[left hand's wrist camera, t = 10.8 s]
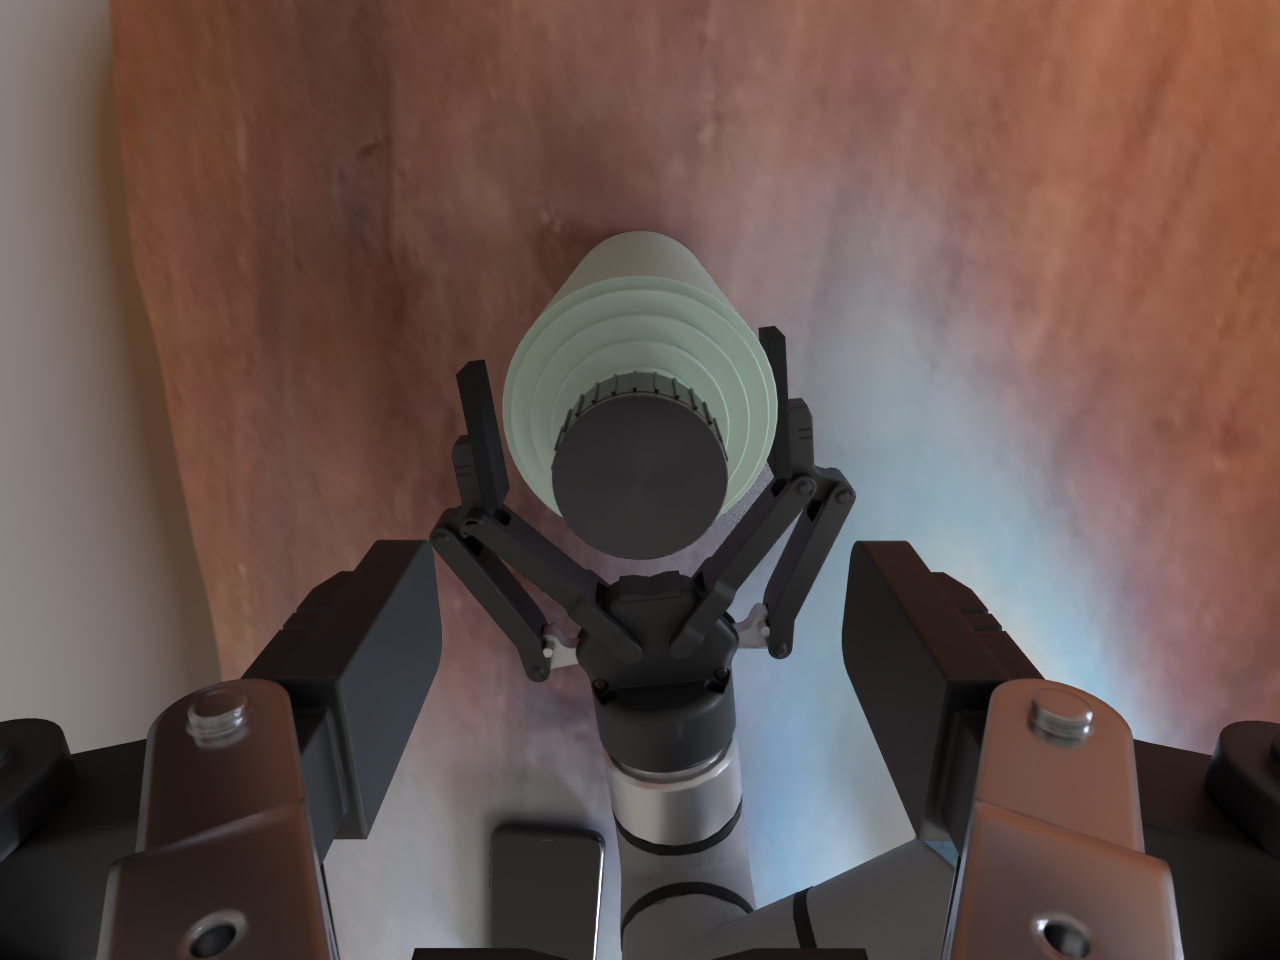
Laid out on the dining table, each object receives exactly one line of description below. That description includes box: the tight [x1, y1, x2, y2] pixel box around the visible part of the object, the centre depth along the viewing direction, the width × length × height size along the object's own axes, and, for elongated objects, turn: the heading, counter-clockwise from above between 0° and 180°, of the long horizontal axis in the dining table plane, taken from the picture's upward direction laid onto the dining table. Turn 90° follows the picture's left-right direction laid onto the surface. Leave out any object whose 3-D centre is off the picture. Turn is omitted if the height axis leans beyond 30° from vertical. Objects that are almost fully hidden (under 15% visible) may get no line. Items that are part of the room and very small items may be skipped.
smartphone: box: [489, 825, 605, 960], centre depth 54 cm, size 8×1×16 cm
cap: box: [551, 370, 729, 560], centre depth 17 cm, size 4×4×2 cm
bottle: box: [502, 231, 778, 518], centre depth 28 cm, size 8×8×24 cm
